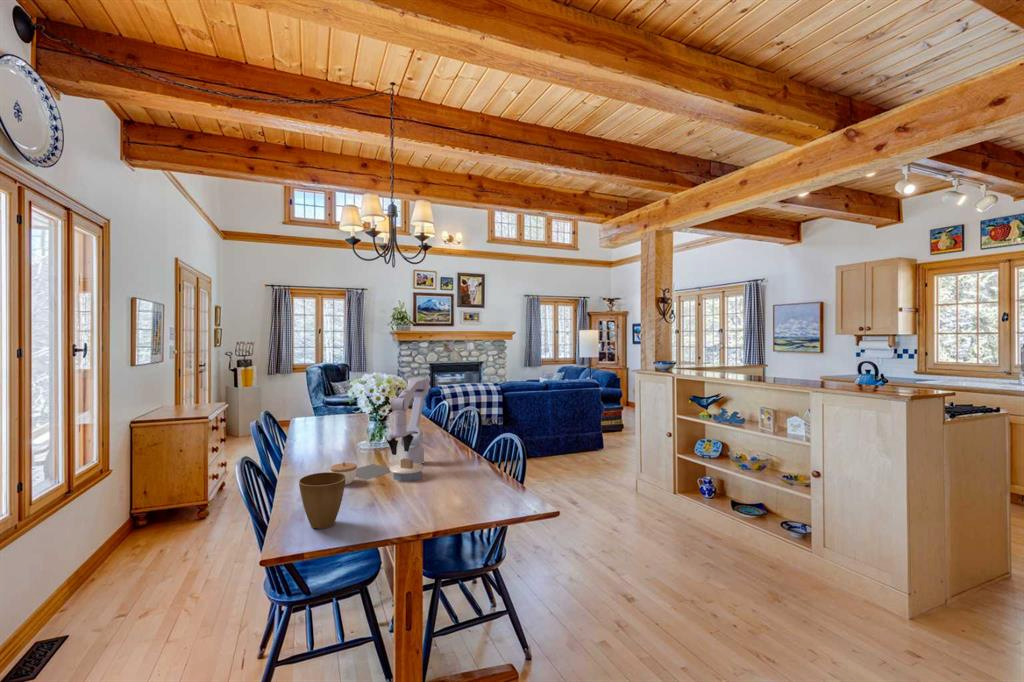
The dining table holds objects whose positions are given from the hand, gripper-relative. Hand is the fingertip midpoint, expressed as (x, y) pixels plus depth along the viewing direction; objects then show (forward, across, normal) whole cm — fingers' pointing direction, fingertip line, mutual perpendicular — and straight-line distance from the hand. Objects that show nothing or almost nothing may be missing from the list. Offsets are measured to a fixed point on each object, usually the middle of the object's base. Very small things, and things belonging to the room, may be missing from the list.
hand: (400, 452), depth 224 cm
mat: (+9, +7, -13) cm, 18 cm away
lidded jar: (+10, +25, -8) cm, 28 cm away
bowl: (+9, +3, +8) cm, 13 cm away
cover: (+6, +3, +8) cm, 10 cm away
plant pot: (+10, +57, +24) cm, 63 cm away
